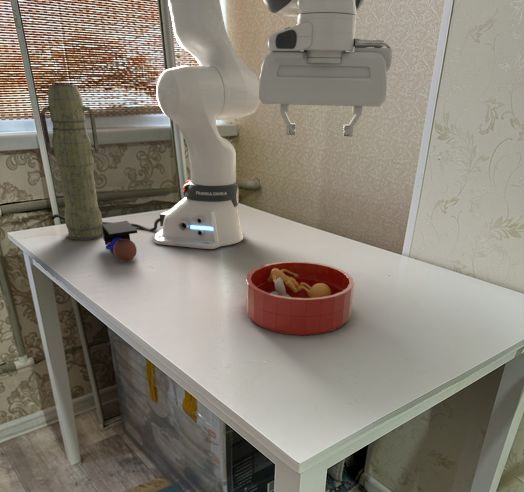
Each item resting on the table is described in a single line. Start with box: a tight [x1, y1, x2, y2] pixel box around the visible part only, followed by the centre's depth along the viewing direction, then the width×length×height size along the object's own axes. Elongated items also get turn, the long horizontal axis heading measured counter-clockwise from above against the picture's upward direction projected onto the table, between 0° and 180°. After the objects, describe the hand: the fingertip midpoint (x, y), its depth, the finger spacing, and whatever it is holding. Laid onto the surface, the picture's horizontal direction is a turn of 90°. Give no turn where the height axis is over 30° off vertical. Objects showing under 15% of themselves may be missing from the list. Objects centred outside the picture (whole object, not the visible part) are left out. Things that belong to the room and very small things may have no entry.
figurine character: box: [101, 220, 138, 262], centre depth 118 cm, size 7×8×15 cm
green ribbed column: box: [39, 83, 103, 241], centre depth 124 cm, size 9×12×35 cm
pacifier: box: [271, 278, 290, 297], centre depth 89 cm, size 7×6×6 cm
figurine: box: [268, 269, 331, 298], centre depth 93 cm, size 8×6×12 cm
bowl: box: [245, 260, 355, 336], centre depth 90 cm, size 19×19×6 cm
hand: (319, 135), depth 84 cm, fingers open, 8 cm apart
